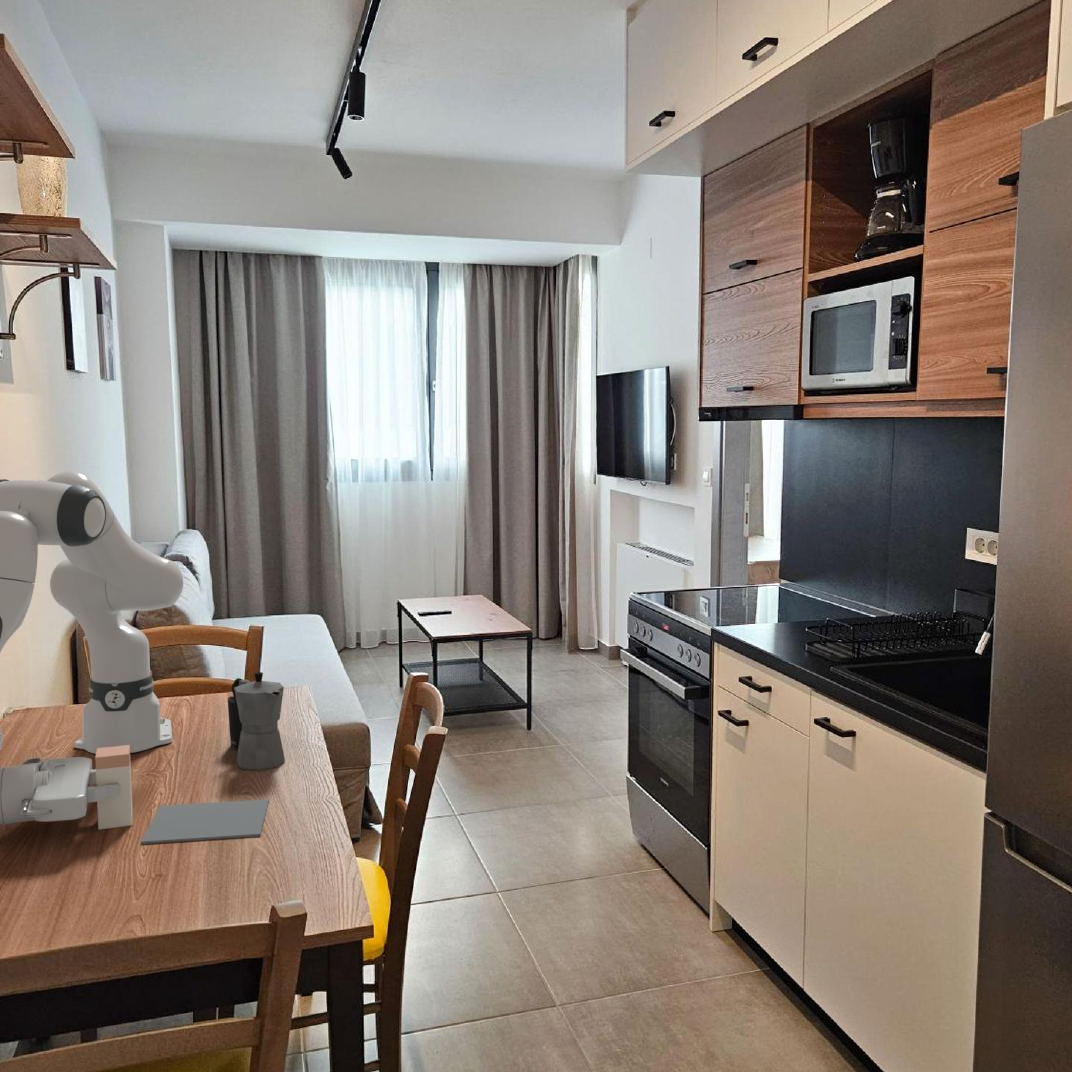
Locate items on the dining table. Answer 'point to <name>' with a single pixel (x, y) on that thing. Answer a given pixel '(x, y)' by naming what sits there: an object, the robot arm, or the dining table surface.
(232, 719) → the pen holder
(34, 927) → the dining table surface
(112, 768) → the pillar
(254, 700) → the coffeepot
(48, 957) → the dining table surface
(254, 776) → the dining table surface
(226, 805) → the mat
